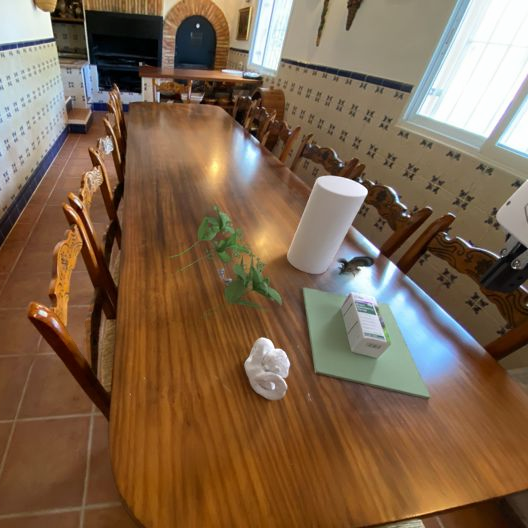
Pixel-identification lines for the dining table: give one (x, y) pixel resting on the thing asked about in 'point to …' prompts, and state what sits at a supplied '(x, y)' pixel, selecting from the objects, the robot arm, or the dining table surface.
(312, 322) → the felt mat
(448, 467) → the dining table surface
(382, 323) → the syrup box
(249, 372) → the baby figurine
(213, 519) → the dining table surface
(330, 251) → the cylinder
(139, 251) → the dining table surface
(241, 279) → the plant cuttings
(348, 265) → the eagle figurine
